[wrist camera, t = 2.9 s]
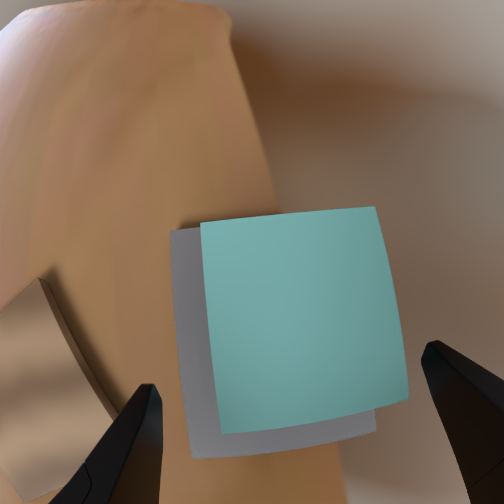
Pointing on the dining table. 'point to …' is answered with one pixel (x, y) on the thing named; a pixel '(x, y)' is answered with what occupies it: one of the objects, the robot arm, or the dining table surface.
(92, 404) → the board
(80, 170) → the dining table surface
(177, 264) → the case base
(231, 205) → the dining table surface
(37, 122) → the dining table surface
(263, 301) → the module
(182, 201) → the dining table surface
